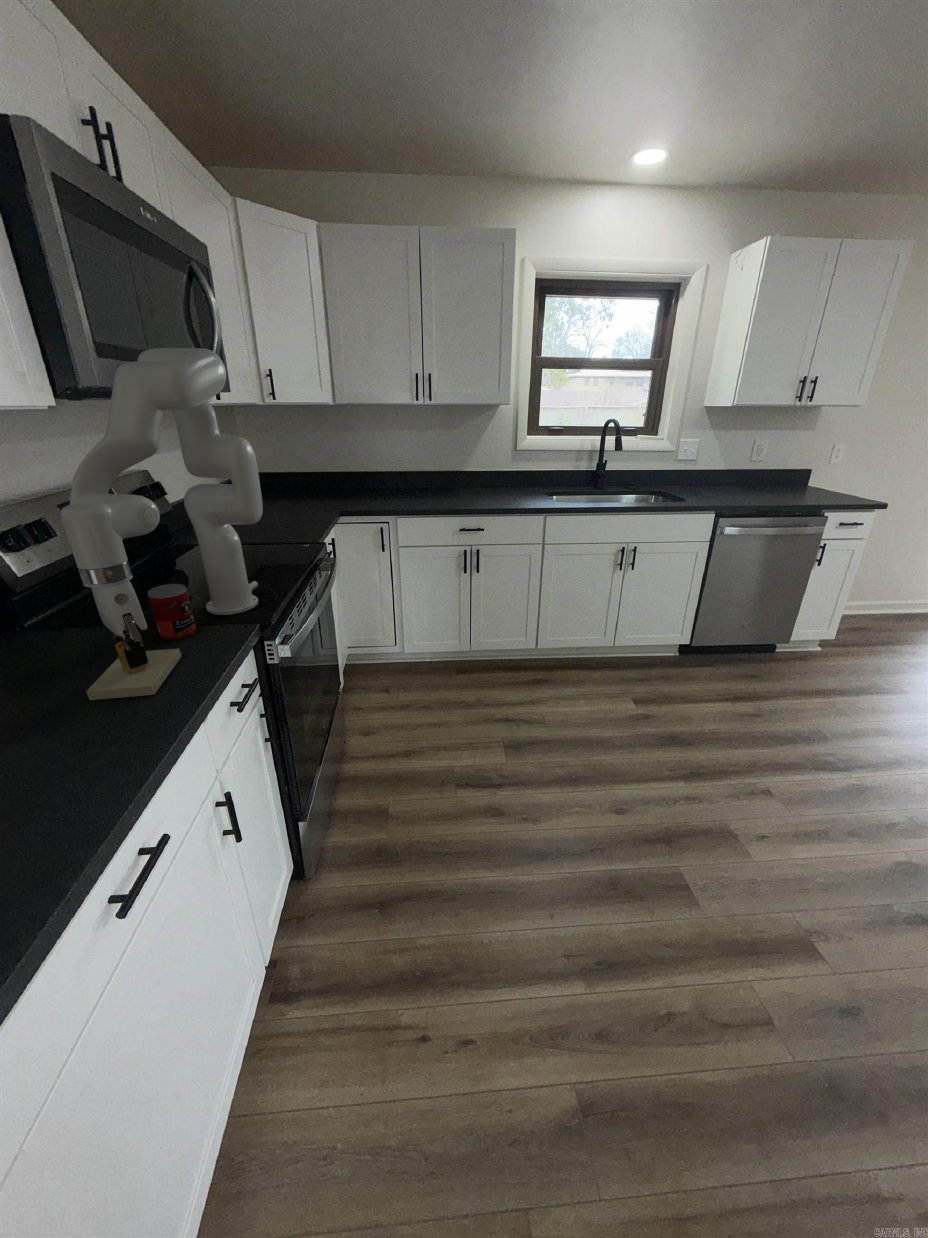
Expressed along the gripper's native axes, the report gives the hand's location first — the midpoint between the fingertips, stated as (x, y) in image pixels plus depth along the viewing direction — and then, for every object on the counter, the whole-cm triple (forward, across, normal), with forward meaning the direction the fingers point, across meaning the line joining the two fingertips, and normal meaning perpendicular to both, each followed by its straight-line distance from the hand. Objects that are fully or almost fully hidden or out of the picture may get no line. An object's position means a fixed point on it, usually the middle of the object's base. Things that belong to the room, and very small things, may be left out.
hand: (133, 660), depth 97 cm
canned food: (+4, +15, -14) cm, 20 cm away
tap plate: (+4, 0, 0) cm, 4 cm away
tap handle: (+2, 0, 0) cm, 2 cm away
